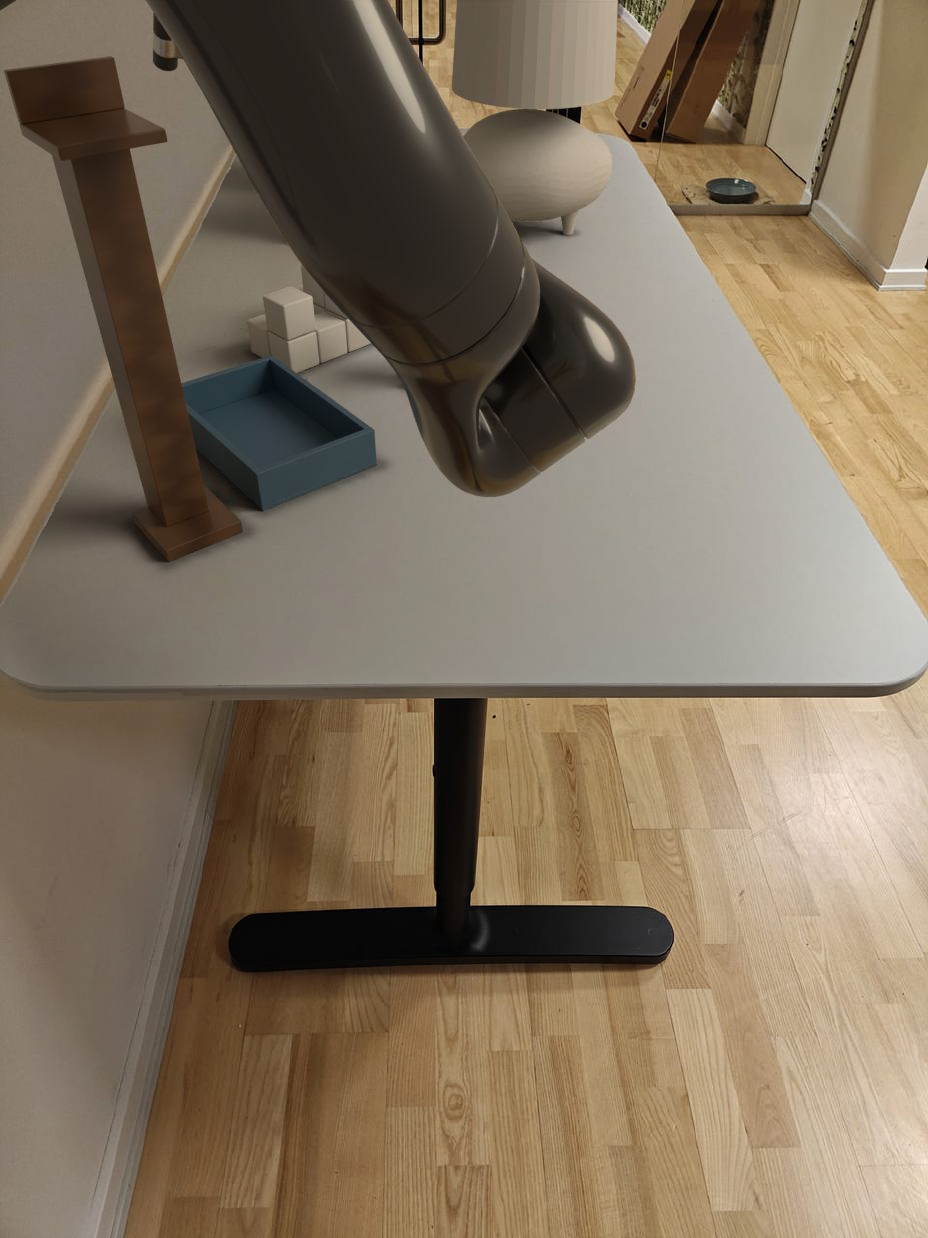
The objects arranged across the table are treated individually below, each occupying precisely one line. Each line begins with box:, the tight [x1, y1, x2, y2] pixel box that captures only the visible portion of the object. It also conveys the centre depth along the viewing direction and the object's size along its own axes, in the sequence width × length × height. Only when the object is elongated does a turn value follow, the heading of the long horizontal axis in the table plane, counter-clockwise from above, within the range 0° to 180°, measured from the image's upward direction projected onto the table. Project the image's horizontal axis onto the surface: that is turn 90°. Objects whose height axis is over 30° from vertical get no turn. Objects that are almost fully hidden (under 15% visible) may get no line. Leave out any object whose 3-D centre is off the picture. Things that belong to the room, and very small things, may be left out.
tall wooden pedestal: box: [3, 55, 244, 563], centre depth 69 cm, size 7×7×35 cm
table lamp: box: [451, 0, 619, 236], centre depth 121 cm, size 23×22×40 cm
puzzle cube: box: [246, 264, 372, 374], centre depth 105 cm, size 12×12×8 cm
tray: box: [181, 355, 378, 512], centre depth 89 cm, size 19×12×4 cm, turn 38°
